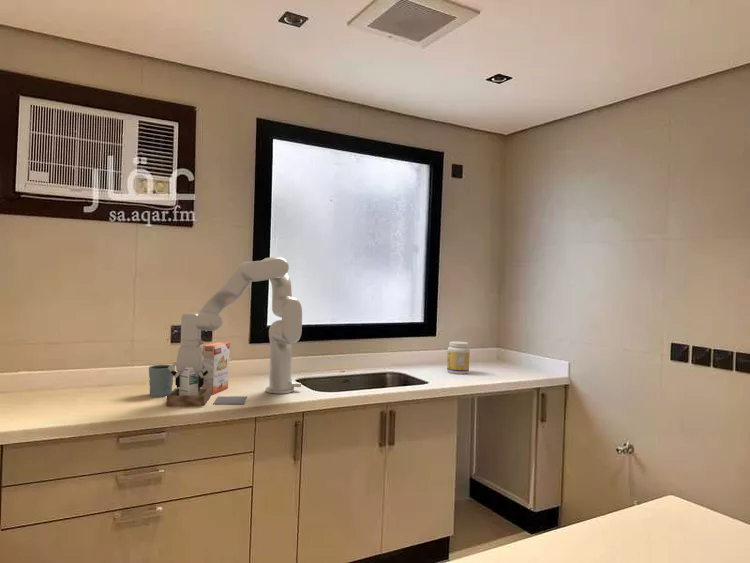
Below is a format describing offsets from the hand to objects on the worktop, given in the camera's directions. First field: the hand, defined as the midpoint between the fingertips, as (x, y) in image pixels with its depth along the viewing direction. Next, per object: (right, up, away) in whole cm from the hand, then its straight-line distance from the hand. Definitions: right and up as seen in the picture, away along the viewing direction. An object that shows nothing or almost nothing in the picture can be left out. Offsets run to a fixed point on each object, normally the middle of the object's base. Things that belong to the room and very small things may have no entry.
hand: (189, 386), depth 208 cm
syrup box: (0, -6, 0) cm, 6 cm away
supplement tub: (+121, -9, +82) cm, 146 cm away
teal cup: (-16, -6, +11) cm, 20 cm away
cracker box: (+4, -6, +20) cm, 22 cm away
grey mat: (+15, -6, +4) cm, 17 cm away
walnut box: (0, -6, 0) cm, 6 cm away
